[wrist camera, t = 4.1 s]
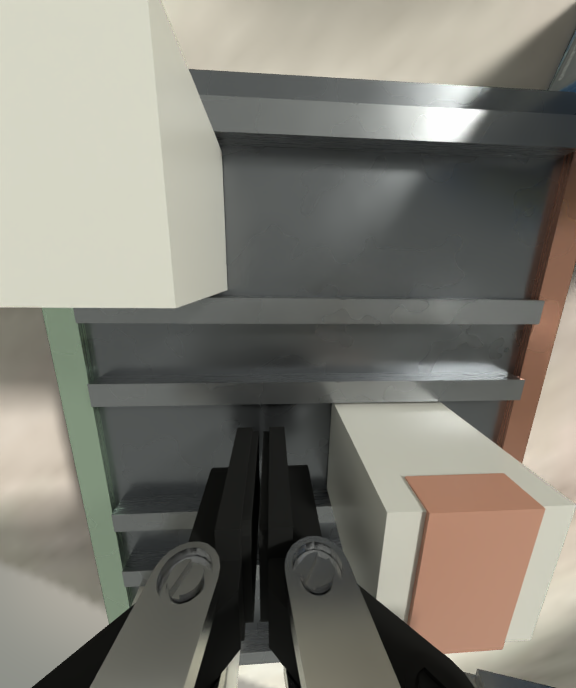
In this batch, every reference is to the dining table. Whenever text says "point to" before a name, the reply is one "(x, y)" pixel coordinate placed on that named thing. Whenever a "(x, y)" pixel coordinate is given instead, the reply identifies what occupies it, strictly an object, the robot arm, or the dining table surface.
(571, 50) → the label tape box
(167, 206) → the block
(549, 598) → the dining table surface
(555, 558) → the block
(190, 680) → the robot arm
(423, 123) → the panel
